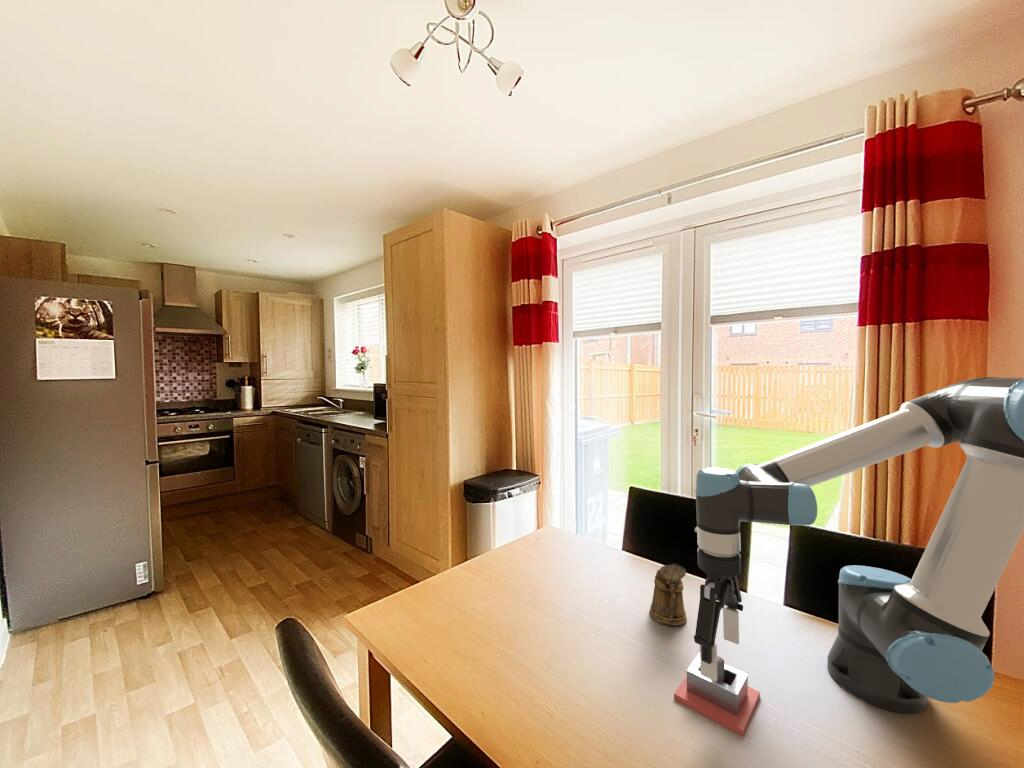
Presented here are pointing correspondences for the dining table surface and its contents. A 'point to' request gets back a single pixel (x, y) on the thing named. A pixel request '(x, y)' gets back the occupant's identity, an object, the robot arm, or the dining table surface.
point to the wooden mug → (669, 596)
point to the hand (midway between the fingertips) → (720, 658)
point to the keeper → (717, 713)
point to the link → (719, 687)
